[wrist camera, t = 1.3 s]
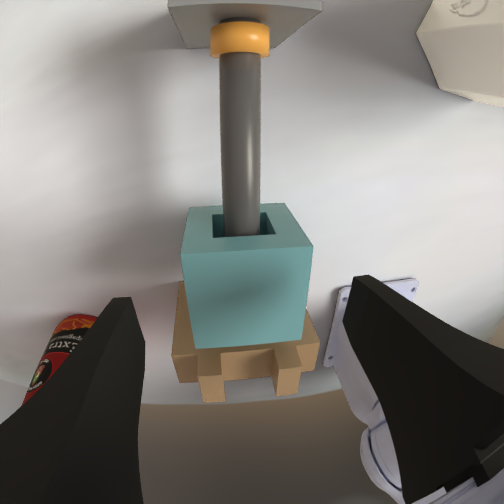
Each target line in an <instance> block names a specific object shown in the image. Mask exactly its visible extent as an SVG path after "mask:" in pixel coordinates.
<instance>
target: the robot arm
mask: <svg viewBox="0 0 504 504" xmlns="http://www.w3.org/2000/svg"><path fill="white" fill-rule="evenodd" d="M418 284H419V281H418V280H417V279H416V278H413V279H406V280H398V281H391V282H383V283H382V282H381V281H379V280H377V279H376V278H374V277H372V276H370V275H363V276H355V277H353V281H352V285H351V286H350V287H344V288H342V289H341V290H340V291H339V294H338V299H337V304H336V309H335V314H334V318H333V323H332V327H331V332H330V336H329V340H328V345H327V349H326V353H325V357H324V361H323V365H324V367H332V366H334V368H335V371H336V373H337V376H338V378H339V380H340V383H341V385H342V388H343V390H344V393H345V395H346V398H347V400H348V402H349V405H350V408H351V410H352V412H353V413H354V415H355V416H356V417H357V418H358V419H360V420H361V421H362V422H364V423H365V424H368V426H369V428H367V429H366V430H365V431H364V432H363V434H362V438H361V445H360V453H361V458H362V462H363V465H364V467H365V470H366V471H367V474H368V475H369V477H370V478H371V480H372V481H373V482H374V483H375V485H377V486H378V487H379V488H380V489H382V490H384V491H386V492H387V493H388V494H389V495H390V496H391V497H392V498H393V499H395V501H396V502H397V503H398V504H504V349H502V348H499V347H496V346H493V345H491V344H488V343H486V342H484V341H481V340H479V339H477V338H474V337H472V336H470V335H468V334H466V333H464V332H462V331H460V330H458V329H456V328H454V327H452V326H451V325H449V324H447V323H445V322H444V321H442V320H440V319H439V318H437V317H435V316H434V315H432V314H430V313H429V312H427V311H425V310H424V309H422V308H421V307H419V306H418V305H416V304H415V303H413V299H414V296H415V293H416V290H417V287H418ZM344 297H346V298H345V299H343V298H344ZM144 371H145V340H144V337H143V334H142V331H141V328H140V325H139V322H138V319H137V315H136V312H135V309H134V306H133V302H132V299H131V297H121V298H113V299H112V300H111V301H110V302H109V304H108V305H107V306H106V307H105V309H104V310H103V311H102V313H101V314H100V315H99V317H98V318H97V319H96V321H95V322H94V323H93V325H92V326H91V327H90V329H89V330H88V331H87V332H86V334H85V335H84V336H83V338H82V339H81V340H80V342H79V343H78V344H77V346H76V347H75V348H74V349H73V351H72V352H71V353H70V354H69V355H68V357H67V358H66V359H65V360H64V362H63V363H62V364H61V365H60V367H59V368H58V369H57V370H56V371H55V372H54V374H53V375H52V376H51V377H50V378H49V379H48V380H47V381H46V382H45V383H44V384H43V385H42V387H41V388H40V389H39V390H38V391H37V392H36V393H35V394H34V395H33V396H32V397H31V398H30V399H28V400H27V401H26V402H25V403H24V404H23V405H22V406H21V407H20V408H19V409H18V410H17V411H16V412H15V413H14V414H12V415H11V416H10V417H9V418H8V419H7V420H5V421H4V422H3V423H2V424H0V504H143V498H142V491H141V482H140V473H139V460H138V423H139V413H140V404H141V396H142V388H143V379H144Z"/></svg>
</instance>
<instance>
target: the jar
mask: <svg viewBox="0 0 504 504" xmlns="http://www.w3.org/2000/svg"><path fill="white" fill-rule="evenodd" d="M416 35H417V37H418V39H419V41H420V44H421V46H422V48H423V50H424V52H425V55H426V57H427V59H428V61H429V64H430V66H431V69H432V71H433V73H434V76H435V79H436V81H437V84H438V87H439V88H440V89H441V90H444V91H447V92H450V93H453V94H456V95H459V96H462V97H465V98H468V99H470V100H473V101H476V102H481V103H486V104H491V105H496V106H501V107H504V0H433V2H432V4H431V6H430V8H429V10H428V12H427V14H426V15H425V17H424V19H423V21H422V23H421V25H420V27H419V28H418V30H417V32H416Z"/></svg>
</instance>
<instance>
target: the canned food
mask: <svg viewBox="0 0 504 504" xmlns="http://www.w3.org/2000/svg"><path fill="white" fill-rule="evenodd" d="M96 319H97V318H96V317H93V316H89V315H82V314H80V315H72V316H69V317H67V318H66V319H64V320H63V321H62V322H61V323H60V324H59V325H58V326H57V327H56V329H55V331H54V333H53V335H52V337H51V339H50V341H49V343H48V345H47V347H46V349H45V352H44V354H43V356H42V358H41V360H40V362H39V365H38V367H37V369H36V372H35V374H34V376H33V379H32V381H31V383H30V386H29V388H28V391H27V393H26V396H25V398H24V401H23V404H24V403H25V402H26V401H27V400H28V399H30V398H31V397H32V396H33V395H34V394H35V393H36V392H37V391H38V390H39V389H40V388H41V387H42V385H43V384H44V383H45V382H46V381H47V380H48V379H49V378H50V377H51V376H52V375H53V374H54V372H55V371H56V370H57V369H58V368H59V367H60V365H61V364H62V363H63V362H64V360H65V359H66V358H67V357H68V355H69V354H70V353H71V352H72V351H73V349H74V348H75V347H76V346H77V344H78V343H79V342H80V340H81V339H82V338H83V336H84V335H85V334H86V332H87V331H88V330H89V329H90V327H91V326H92V325H93V323H94V322H95V321H96ZM23 404H22V405H23Z"/></svg>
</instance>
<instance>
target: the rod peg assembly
mask: <svg viewBox="0 0 504 504" xmlns="http://www.w3.org/2000/svg"><path fill="white" fill-rule="evenodd" d="M168 9H169V11H170V13H171V16H172V18H173V20H174V22H175V24H176V26H177V28H178V30H179V32H180V34H181V36H182V39H183V41H184V43H185V45H186V47H187V49H194V48H210V56H211V57H213V58H219V70H220V135H221V170H222V198H223V222H224V237H238V236H255V235H260V128H261V58H263V57H267V56H269V55H270V48H275V47H277V46H278V45H279V44H280V43H281V42H283V41H284V40H285V39H286V38H287V37H289V36H290V35H291V34H292V33H294V32H295V31H296V30H297V29H299V28H300V27H301V26H303V25H304V24H305V23H307V22H308V21H309V20H310V19H312V18H313V17H315V16H316V15H317V14H319V13H320V12H321V11H322V0H168ZM319 346H320V340H319V338H318V336H317V333H316V331H315V328H314V326H313V324H312V321H311V319H310V317H309V314H308V312H307V310H306V311H305V318H304V325H303V332H302V339H301V340H293V341H285V342H276V343H267V344H256V345H245V346H233V347H219V348H201V349H195V343H194V338H193V333H192V327H191V321H190V315H189V310H188V303H187V297H186V291H185V284H184V281H180V285H179V293H178V300H177V308H176V317H175V325H174V335H173V344H172V359H173V363H174V366H175V369H176V373H177V376H178V379H179V383H189V382H199V385H200V390H201V394H202V398H203V402H204V403H208V402H225V391H224V381H228V380H240V379H251V378H261V377H270V376H272V381H273V385H274V390H275V394H276V396H283V395H290V394H297V391H298V387H299V382H300V376H301V372H307V371H313V370H314V368H315V364H316V359H317V355H318V351H319Z"/></svg>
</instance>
